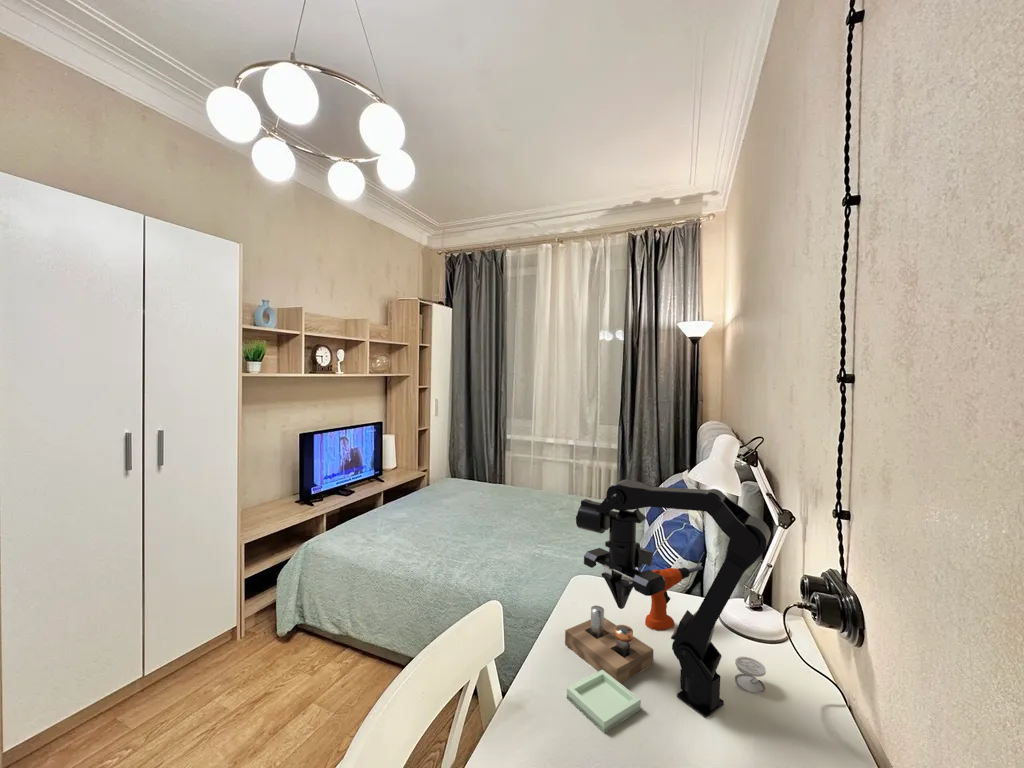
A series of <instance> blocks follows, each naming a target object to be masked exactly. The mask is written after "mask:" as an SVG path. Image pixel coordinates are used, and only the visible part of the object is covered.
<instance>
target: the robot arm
mask: <svg viewBox="0 0 1024 768" xmlns="http://www.w3.org/2000/svg"><path fill="white" fill-rule="evenodd" d="M605 496H606V497H605V499H603V500H602V501H601V502H598V501H593V500H592V499H586V498H585V499H582V500H581V501H580V506H579V507H578V510H577V513H576V516H575V523H576V527H577V528H578V529H581V530H586V531H588V532H593V533H597V534H604V533H605V532H606V531H608V530H609V531H608V532H609V533H608V534H609V535H608V536H609V538H608V540H605V543H604V546H605V547H606V548H608V550H606V549H604V548H601V547H598V548H595V549H591V550H588V551H586V552H585V554H584V555H583V565H584V566H587V567H589V568H591V569H593V568H595V567H596V566H597V563H598V564H601V565H602V568H603V572H602V573H601V577H602V578H603V579H604V581H605V583H606V585H607V586H608V588H609V590H610V592H611V594H612V596H613V599H614V601H615V603H616V605H617V607H618V608H619V609H620V610H622V609H625V608H626V604H627V601H628V600H629V596H630V595H631V592H632V591H633V589H634V591H636V592H637V593H639V594H642V595H643V596H646V597H651V595H653V594H656V593H658V592H660V591H662V590H665V579H664V577H663V576H662V575H659V574H657V573H655V572H653V570H650V569H647V570H645V571H641V570H639V568H642V566H643V565H644V566H645V565H646V566H648V567H651V566H652V562H653V558H654V552H653V551H651V550H649V549H646V548H643V547H642V546H641V543H639V542H637V524H642V523H643V522H644V521H646V519H647V517H646V516H645V515H644V514H643V513H642V512H641V510H640V509H642V508H643V509H644V508H650V507H651V508H660V509H674V510H681V511H682V510H683V511H684V510H686V511H695V512H697V511H698V512H706V513H707V515H708V514H709V516H710V517H711V518H712V519H713V520H714V522H715V524H717V526H718V527H719V528H720V529H721V531H722V532H723V533H724V534H725V535H726V536H727V537H728V538H729V541H728V544H727V548H726V553H725V558H724V560H723V561H724V562H723V563H722V565H721V567H720V569H719V571H718V572H717V574H716V576H715V578H714V580H713V581H712V584H710V587H709V589H708V590H707V592H706V594H705V597H704V598H703V599H702V602H701V603H700V605H699V607H698V609H697V610H696V611H695V612H694V614H693V613H692V612H690V611H689V610H688V609H687V610H686V612H685V613H684V615H683V616H682V617H681V619H680V620H679V623H678V625H677V626H676V629H675V630H674V632H673V634H672V635H671V637H670V639H671V640H672V641H673V642H672V644H671V649H672V652H673V654H674V657H675V658H676V659H677V660H678V662H679V665H680V682H679V683H680V685H679V687H680V688H679V689H680V691H679V692H677V693H676V696H677V698H678V699H679V700H681V701H682V702H684V703H685V704H686V705H688V706H689V707H690V708H692V710H695V711H696V712H697V713H699V714H700V715H702V716H703V717H704V718H708V717H710V716H711V715H712V714H714V713H715V712H716V711H718V710H719V709H720V708H721V707H723V706H725V701H724V700H723V699H722V698H721V675H720V674H719V673H717V669H718V666H719V664H720V661H721V660H722V658H723V657H722V654H721V652H720V651H719V650H718V649H717V647H716V646H715V644H714V643H713V642H712V639H713V635H714V630H715V626H716V623H717V621H718V620H719V618H720V616H721V614H722V612H723V610H724V609H725V607H726V605H727V603H728V601H729V600H730V598H731V596H732V594H733V592H734V591H735V589H736V587H737V586H738V583H739V582H740V580H741V578H742V576H743V575H744V573H745V572H746V571H747V570H749V569H750V568H751V566H753V565H754V564H755V563H756V561H758V559H759V558H760V557H761V556H762V555H763V554H764V552H765V551H766V549H767V546H768V545H769V541H770V538H771V534H772V533H771V530H770V527H769V526H768V525H767V523H766V522H765V521H764V520H762V519H761V518H759V517H756V516H753V515H751V514H750V513H749V512H748V511H747V510H746V509H745V508H744V507H743V506H740V505H739V504H737V503H736V502H735V501H733V500H731V499H730V498H729V497H728V496H726V494H725V493H723V491H721V490H719V489H717V488H711V489H699V488H683V487H665V486H652V485H648V484H646V483H644V482H641V481H636V480H631V479H622V480H621V481H617V482H616V483H614V484H611V485H610V486H609V487H608V488H607V491H606V495H605ZM632 510H633V511H632Z"/></svg>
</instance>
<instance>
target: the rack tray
mask: <svg viewBox="0 0 1024 768" xmlns="http://www.w3.org/2000/svg"><path fill="white" fill-rule="evenodd" d="M567 698H568V699H569V702H571V704H572V705H573V706H575V707H576V708H577V709H578V710H579V711H580V712H581V713H582V714H583V715H584V716H585V717H586V718H587V719H588V720H590V722H592V723H593V725H595V726H596V727H597V728H598V729H599V730H600V731H601V732H602V733H603V734H605V733H606V732H608V731H610V730H611V729H613V728H615V727H616V726H618V725H619V724H621V723H622V722H624V721H625V720H627V719H629V718H630V717H632V716H634V715H635V714H637V712H639V711H641V710H642V709H641V704H642V703H641V701H642V700H641V698H639V697H638V696H637V695H636V694H634V693H633V692H632V691H631V690H629V689H628V688H627V687H626V686H624V685H623V684H622V683H619V682H618V681H616V680H615V679H614V678H613V677H611V676H610V675H609V674H608V673H606V672H605V671H604V670H600V671H597V672H595V673H593V674H591V675H589V676H587V677H585V678H583V679H581V680H580V681H578V682H576V683H574V684H572V685H570V686H568V687H566V699H567ZM568 699H567V700H568Z"/></svg>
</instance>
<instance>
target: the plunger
mask: <svg viewBox="0 0 1024 768" xmlns="http://www.w3.org/2000/svg"><path fill="white" fill-rule="evenodd" d="M616 625H617V624H616ZM614 636H615V638H616V652H617V653H618V654H619V655H620V656H624V657H626V656H629V655H630V641H632V640H633V636H634V630H633V629H632V627H630V626H628V625H626V624H618V625H617V626H615V628H614Z"/></svg>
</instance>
